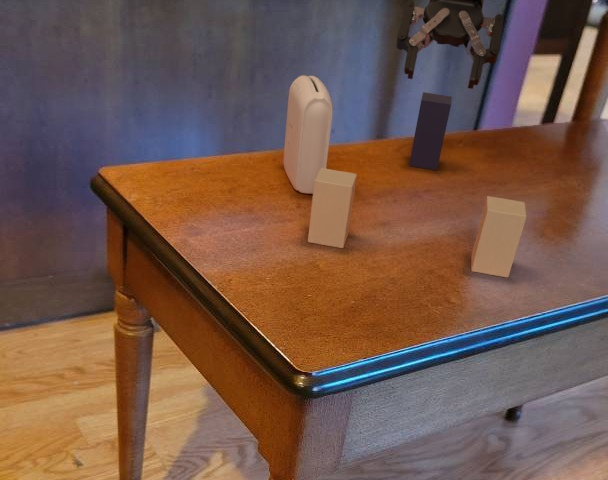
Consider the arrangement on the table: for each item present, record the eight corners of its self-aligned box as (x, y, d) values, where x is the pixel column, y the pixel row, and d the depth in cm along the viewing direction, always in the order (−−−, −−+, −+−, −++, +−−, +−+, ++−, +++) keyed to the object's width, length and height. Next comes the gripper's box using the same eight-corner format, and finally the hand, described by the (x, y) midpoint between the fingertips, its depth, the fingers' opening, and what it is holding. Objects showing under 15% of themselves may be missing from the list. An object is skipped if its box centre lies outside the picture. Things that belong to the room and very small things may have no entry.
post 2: (507, 261, 82) (524, 201, 78) (508, 278, 79) (526, 216, 75) (471, 255, 83) (487, 195, 79) (471, 271, 80) (487, 209, 75)
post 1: (348, 234, 84) (357, 173, 80) (343, 248, 81) (352, 186, 77) (313, 227, 84) (320, 167, 80) (307, 242, 81) (314, 180, 77)
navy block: (438, 161, 107) (452, 96, 101) (436, 170, 104) (451, 104, 98) (410, 156, 107) (423, 92, 102) (408, 165, 104) (421, 99, 99)
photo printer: (279, 164, 99) (287, 66, 92) (310, 165, 100) (321, 68, 93) (293, 195, 91) (303, 90, 84) (326, 196, 92) (339, 92, 85)
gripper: (414, -51, 102) (391, 56, 100) (517, -36, 101) (497, 72, 99) (409, -13, 110) (388, 88, 107) (506, 1, 108) (486, 103, 106)
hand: (440, 80), depth 103 cm, fingers open, 8 cm apart
